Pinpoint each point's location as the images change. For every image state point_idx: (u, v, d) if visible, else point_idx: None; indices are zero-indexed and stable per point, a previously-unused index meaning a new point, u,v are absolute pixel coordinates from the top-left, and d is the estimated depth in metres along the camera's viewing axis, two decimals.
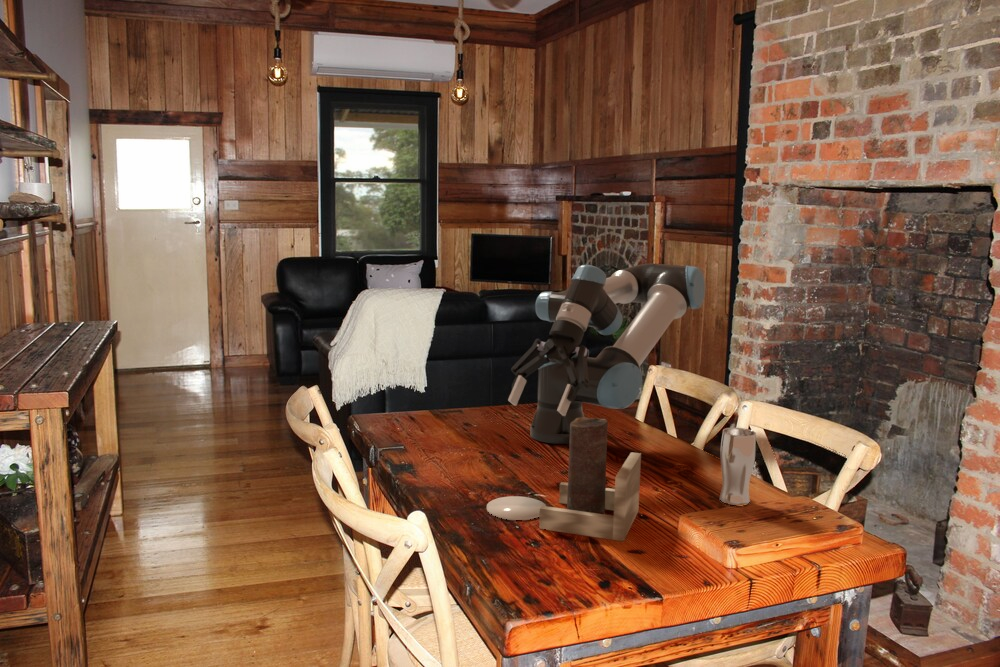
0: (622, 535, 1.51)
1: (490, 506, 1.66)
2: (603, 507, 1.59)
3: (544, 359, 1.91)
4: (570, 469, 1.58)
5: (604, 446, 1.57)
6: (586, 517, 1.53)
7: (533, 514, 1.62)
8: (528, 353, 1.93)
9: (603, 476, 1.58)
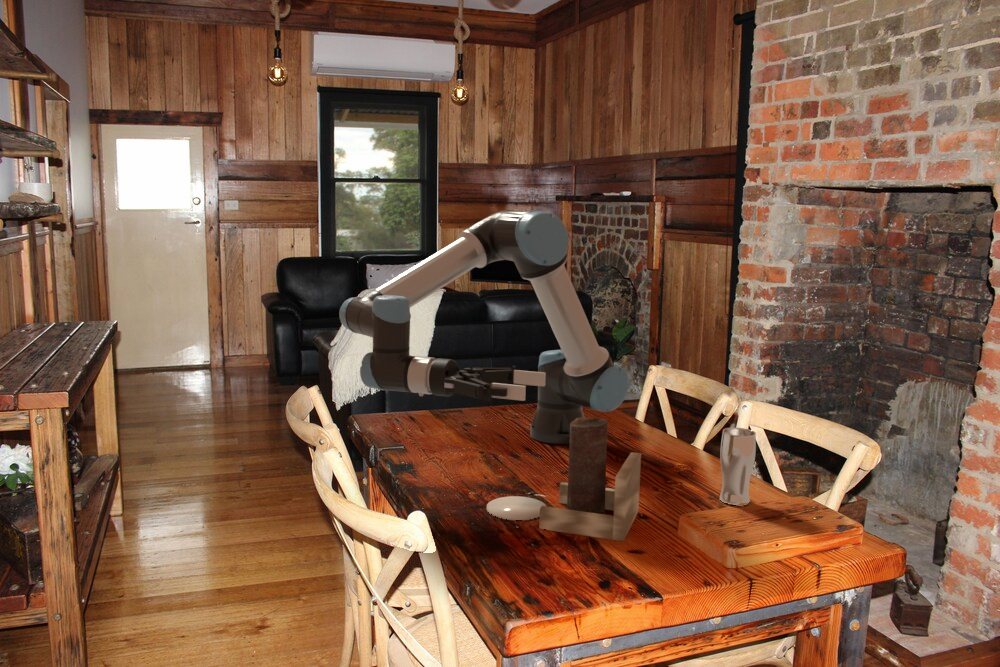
0: (622, 535, 1.51)
1: (490, 506, 1.66)
2: (603, 507, 1.59)
3: (482, 378, 1.68)
4: (570, 469, 1.58)
5: (604, 446, 1.57)
6: (586, 517, 1.53)
7: (533, 514, 1.62)
8: None
9: (603, 476, 1.58)
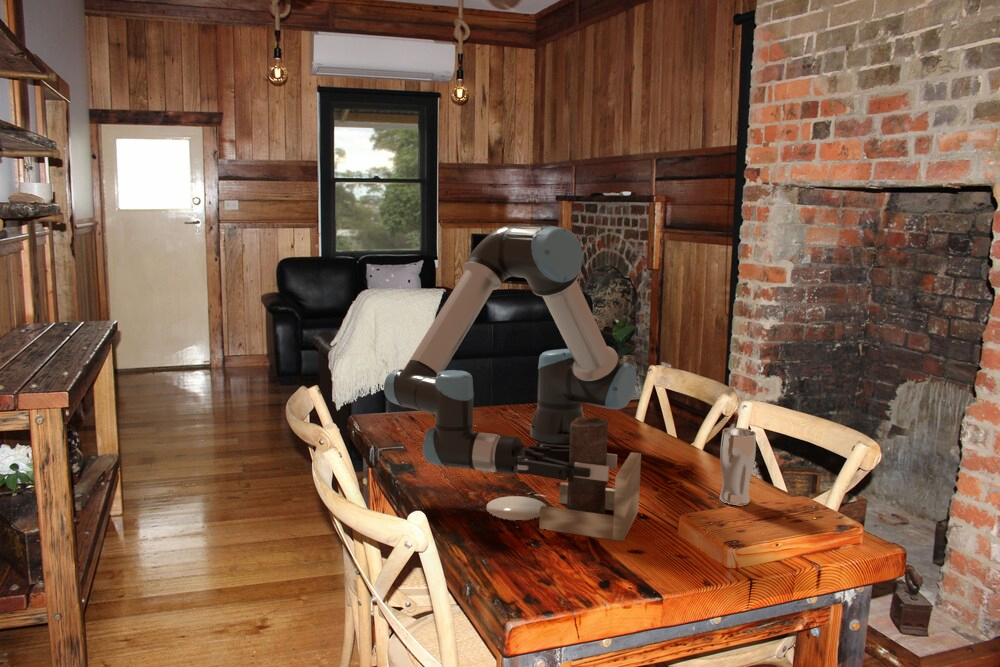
0: (622, 535, 1.51)
1: (490, 506, 1.66)
2: (603, 507, 1.59)
3: (548, 457, 1.64)
4: None
5: (604, 446, 1.57)
6: (586, 517, 1.53)
7: (533, 514, 1.62)
8: None
9: None
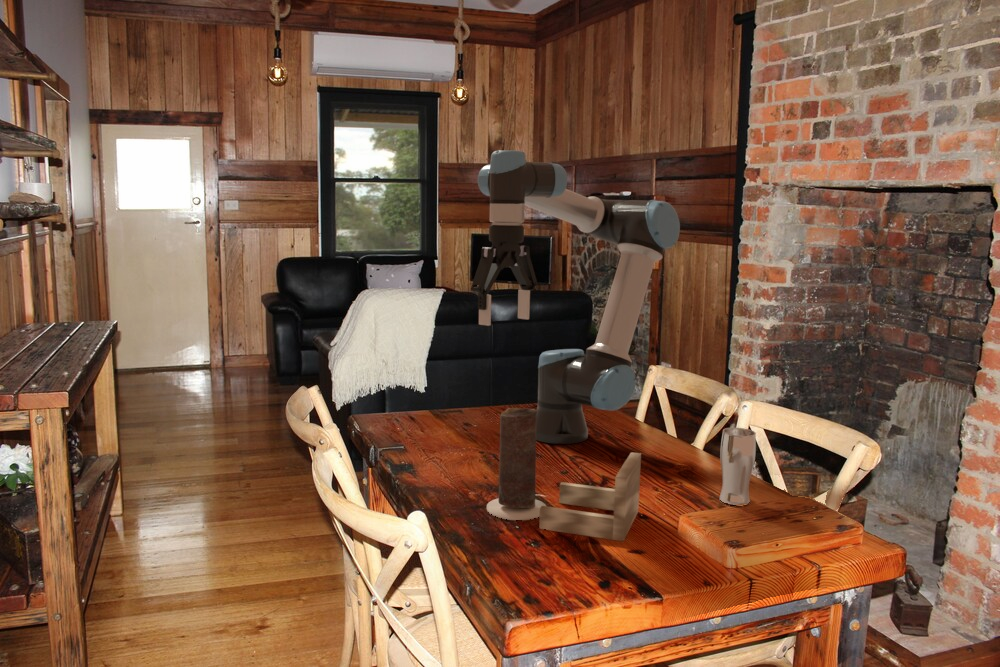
0: (622, 535, 1.51)
1: (490, 506, 1.66)
2: (533, 495, 1.64)
3: (513, 266, 1.82)
4: (500, 457, 1.63)
5: (533, 435, 1.61)
6: (586, 517, 1.53)
7: (533, 514, 1.62)
8: None
9: (532, 465, 1.62)
